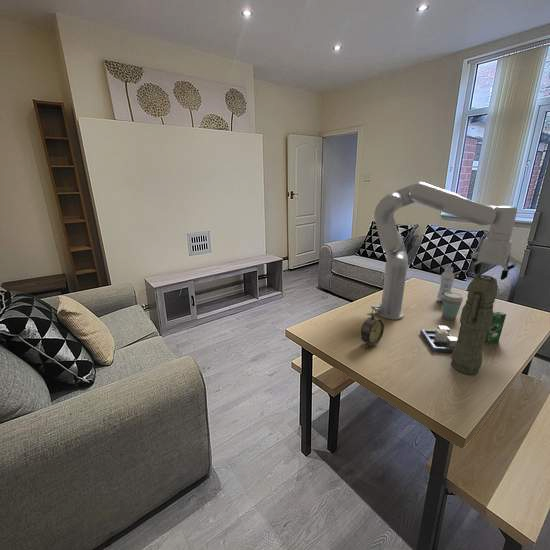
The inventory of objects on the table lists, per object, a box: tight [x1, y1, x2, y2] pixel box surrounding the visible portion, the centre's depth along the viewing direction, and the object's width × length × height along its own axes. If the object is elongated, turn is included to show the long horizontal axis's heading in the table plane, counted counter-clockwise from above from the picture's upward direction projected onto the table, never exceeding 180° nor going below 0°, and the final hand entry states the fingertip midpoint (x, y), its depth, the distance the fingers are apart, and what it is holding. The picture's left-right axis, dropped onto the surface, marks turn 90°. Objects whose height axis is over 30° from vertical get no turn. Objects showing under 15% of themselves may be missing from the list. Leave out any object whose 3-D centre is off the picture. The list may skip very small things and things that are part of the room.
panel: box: [419, 324, 458, 355], centre depth 120 cm, size 11×15×5 cm
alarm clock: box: [360, 309, 385, 350], centre depth 119 cm, size 11×5×16 cm, turn 129°
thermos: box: [450, 274, 499, 377], centre depth 100 cm, size 9×12×35 cm
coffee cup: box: [441, 291, 464, 321], centre depth 142 cm, size 9×9×12 cm
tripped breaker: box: [434, 328, 450, 342], centre depth 120 cm, size 4×3×5 cm
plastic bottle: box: [436, 266, 455, 303], centre depth 159 cm, size 6×7×20 cm
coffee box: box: [484, 311, 507, 345], centre depth 120 cm, size 8×3×13 cm, turn 106°
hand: (489, 276), depth 125 cm, fingers open, 9 cm apart
